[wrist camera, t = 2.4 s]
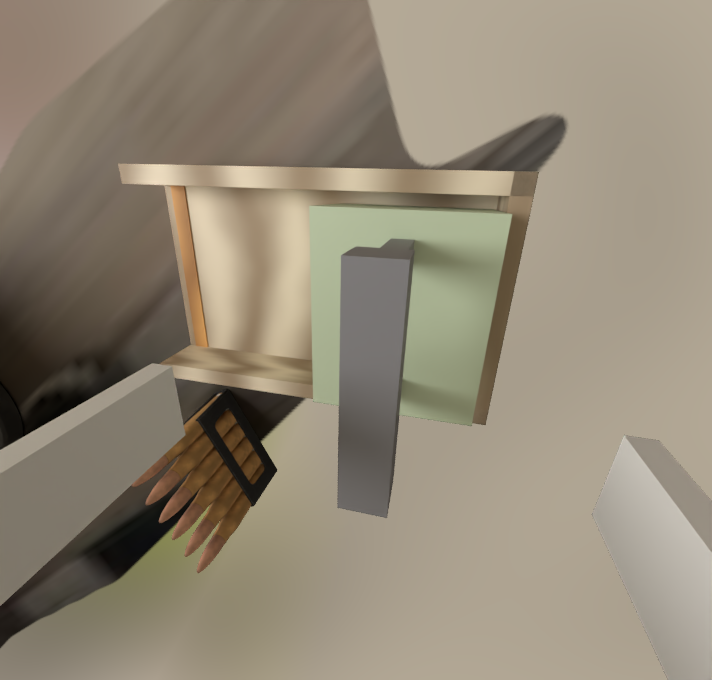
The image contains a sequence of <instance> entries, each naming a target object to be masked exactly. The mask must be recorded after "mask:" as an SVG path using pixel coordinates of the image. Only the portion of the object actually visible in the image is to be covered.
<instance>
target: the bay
mask: <svg viewBox="0 0 712 680" xmlns="http://www.w3.org/2000/svg"><path fill="white" fill-rule="evenodd" d="M118 166H119V170H120V175H121V180H122V184H145V185H165V191H166V197H167V203H168V209H169V215H170V221H171V227H172V233H173V239H174V245H175V251H176V257H177V263H178V269H179V275H180V281H181V287H182V293H183V299H184V305H185V311H186V317H187V323H188V329H189V335H190V341H191V345H190V346H188V347H186V348H185V349H183V350H181V351H180V352H178V353H176V354H175V355H173V356H171V357H170V358H168V359H166V360H165V361H163V362H161V363H160V365H166V366H172V369H173V374H174V378H179V379H186V380H192V381H199V382H205V383H212V384H218V385H225V386H232V387H238V388H245V389H251V390H258V391H265V392H271V393H278V394H284V395H291V396H297V397H304V398H311V399H313V373H312V323H311V274H310V224H309V206H314V205H327V204H341V203H347V204H373V205H398V206H424V207H449V208H475V209H494V210H498V211H502V212H506V213H510V214H512V218H511V224H510V229H509V234H508V239H507V244H506V250H505V255H504V260H503V265H502V270H501V276H500V281H499V286H498V291H497V296H496V301H495V307H494V312H493V317H492V322H491V327H490V333H489V338H488V343H487V348H486V353H485V359H484V364H483V369H482V374H481V379H480V384H479V390H478V395H477V400H476V405H475V410H474V416H473V421H472V423H476V424H482V425H486V420H487V415H488V410H489V406H490V401H491V396H492V391H493V387H494V382H495V377H496V373H497V368H498V363H499V358H500V354H501V348H502V344H503V339H504V334H505V330H506V325H507V320H508V315H509V311H510V306H511V301H512V297H513V292H514V286H515V283H516V278H517V273H518V268H519V264H520V259H521V254H522V249H523V244H524V240H525V235H526V230H527V225H528V221H529V216H530V211H531V207H532V202H533V197H534V193H535V188H536V183H537V178H538V174H539V172H519V171H467V170H415V169H363V168H310V167H258V166H206V165H154V164H118Z"/></svg>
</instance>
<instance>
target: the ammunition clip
mask: <svg viewBox="0 0 712 680" xmlns="http://www.w3.org/2000/svg"><path fill="white" fill-rule="evenodd" d="M183 425H184V430H185V436H184V437H183V438H182V439H181V440H180V441H178V442H177V443H176V444H175V445H174V446H173V447H172V448H171V449H170V450H169V451H168V452H167V453H165V454H164V455H163V456H162V457H161V458H160V459H159V460H158V461H157V462H156V463H155V464H154V465H152V466H151V467H150V468H149V469H148V470H147V471H146V472H145V473H144V474H143V475H142V476H141V477H139V478H138V479H137V480H136V481H135V482H134V483H133V484H132V487H136V486H138V485H140V484H142V483H144V482H146V481H147V480H149V479H150V478H152V477H153V476H155V475H156V474H157V473H158V472H159V471H161V470H162V469H163V468H164V467H165V466H166V465H167V464H169V463H170V462H171V461H172V460H173V459H174V458H176V457H177V456H179V455H180V454H181V455H180V456H179V457H178V459H177V460H176V462H175V463H174V465H173V466H172V467H171V468H170V469H169V470H168V471H167V473H166V474H165V475H164V476H163V477H162V478H161V479H160V480H159V482H158V483H157V484H156V485H155V487H154V488H153V490H152V491H151V493H150V495H149V496H148V498H147V501H146V505H150V504H152V503H154V502H156V501H157V500H159V499H160V498H162V497H163V496H164V495H165V494H167V493H168V492H169V491H170V490H171V489H172V488H173V487H174V486H175V485H176V484H177V483H178V482H179V481H180V480H181V479H182V478H183V477H184V476H185V475H186V474H188V473H189V472H190V474H189V475H188V477H187V478H186V480H185V482H184V483H183V484H182V485H181V486H180V488H179V489H178V491H177V492H176V493H175V494H174V495H173V496H172V498H171V499H170V501H169V502H168V503H167V505H166V507H165V508H164V510H163V512H162V514H161V516H160V519H159V523H162V522H164V521H166V520H168V519H169V518H170V517H172V516H173V515H174V514H176V513H177V512H178V511H179V510H180V509H181V508H182V507H183V506H184V505H185V504H186V503H187V501H188V500H189V499H190V498H191V497H192V496H193V495H194V494H195V493H196V492H197V491H198V490H199V489H200V488H201V489H200V490H199V492H198V494H197V496H196V498H195V499H194V500H193V502H192V503H191V504H190V506H189V507H188V509H187V510H186V511H185V513H184V514H183V516H182V517H181V519H180V520H179V522H178V524H177V526H176V528H175V530H174V532H173V535H172V540H175V539H176V538H178V537H180V536H181V535H182V534H184V533H185V532H186V531H187V530H188V529H189V528H190V527H191V526H192V525H193V524H194V523H195V522H196V520H197V519H198V518H199V517H200V515H201V514H202V513H203V512H204V511H205V510H206V508H207V507H208V506H209V505H210V504H211V503H212V504H211V505H210V507H209V509H208V511H207V514H206V515H205V516H204V518H203V519H202V521H201V523H200V524H199V526H198V527H197V528H196V530H195V532H194V533H193V535H192V537H191V539H190V541H189V543H188V545H187V548H186V551H185V557H187V556H189V555H190V554H192V553H193V552H194V551H195V550H196V549H197V548H198V547H199V546H200V545H201V544H202V543H203V542H204V541H205V539H206V538H207V537H208V536H209V534H210V533H211V532H212V530H213V529H214V528H215V527H216V525H217V524H218V523H219V521H220V520H221V521H220V523H219V525H218V528H217V530H216V531H215V533H214V535H213V536H212V538H211V540H210V542H209V543H208V545H207V546H206V548H205V550H204V552H203V554H202V556H201V558H200V561H199V564H198V568H197V572H198V573H200V572H201V571H203V570H204V569H205V568H206V567H207V566H208V565H209V564H210V563H211V562H212V561H213V559H214V558H215V557H216V555H217V554H218V553H219V551H220V550H221V548H222V547H223V545H224V544H225V543H226V541H227V540H228V539H229V537H230V536H231V535H232V533H233V532H234V531H235V530H236V529H237V527H238V526H239V524H240V523H241V521H242V519H243V518H244V516H245V515H246V513H247V511H248V510H249V508H250V506H254V505H255V504H256V502H257V500H258V499H259V498H260V496H261V494H262V493H263V491H264V490H265V488H266V487H267V485H268V484H269V482H270V481H271V479H272V477H273V476H274V475H275V473H276V472H277V468H276V467H275V465H274V463H273V462H272V460H271V459H270V457H269V455H268V453H267V452H266V450H265V448H264V447H263V445H262V443H261V442H260V440H259V439H258V437H257V435H256V434H255V432H254V430H253V429H252V427H251V425H250V424H249V422H248V420H247V419H246V417H245V415H244V414H243V412H242V410H241V409H240V407H239V405H238V404H237V402H236V400H235V399H234V397H233V395H232V394H231V392H230V390H228V389H226V390H223V391H220V392H217V393H214V394H213V395H212V396H211V397H210V398H209V399H208V400H207V401H206V402H205V403H204V404H203V405H202V406H201V407H200V408H199V409H198V410H197V411H196V412H195V413H194V414H193V415H192V416H191V417H190V418H189V419H188V420H187V421H186V422H185V423H184V424H183Z"/></svg>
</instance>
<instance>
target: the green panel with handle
mask: <svg viewBox="0 0 712 680" xmlns="http://www.w3.org/2000/svg"><path fill="white" fill-rule="evenodd" d="M511 218H512V214H510V213H506V212H502V211H498V210H494V209H475V208H449V207H424V206H398V205H373V204H347V203H341V204H327V205H314V206H309V224H310V274H311V323H312V373H313V402H318V403H324V404H331V405H337V406H339V437H338V441H339V442H338V508H342V509H347V510H352V511H356V512H361V513H366V514H371V515H375V516H380V517H385V518H387V514H388V508H389V502H390V496H391V490H392V483H393V476H394V466H395V454H396V444H397V434H398V423H399V415H403V416H409V417H415V418H422V419H428V420H435V421H441V422H449V423H455V424H461V425H468V426H472V421H473V416H474V410H475V405H476V400H477V395H478V390H479V384H480V379H481V374H482V369H483V364H484V359H485V353H486V348H487V343H488V338H489V333H490V327H491V322H492V317H493V312H494V307H495V301H496V296H497V291H498V286H499V281H500V276H501V270H502V265H503V260H504V255H505V250H506V244H507V239H508V234H509V229H510V224H511Z"/></svg>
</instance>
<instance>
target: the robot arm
mask: <svg viewBox="0 0 712 680" xmlns="http://www.w3.org/2000/svg"><path fill="white" fill-rule="evenodd" d="M184 436H185V430H184V425H183V420H182V414H181V409H180V404H179V399H178V394H177V389H176V384H175V379H174V374H173V369H172V366H166V365H160V364H153V363H152V364H150V365H148V366H147V367H145V368H143V369H141V370H140V371H138V372H136V373H134V374H133V375H131V376H129V377H127V378H126V379H124V380H122V381H120V382H119V383H117V384H115V385H113V386H112V387H110V388H108V389H106V390H105V391H103V392H101V393H99V394H98V395H96V396H94V397H92V398H91V399H89V400H87V401H85V402H84V403H82V404H80V405H78V406H77V407H75V408H73V409H71V410H70V411H68V412H66V413H64V414H63V415H61V416H59V417H57V418H56V419H54V420H52V421H50V422H49V423H47V424H45V425H43V426H42V427H40V428H38V429H36V430H35V431H33V432H31V433H29V434H28V435H26V436H24V437H23V425H22V421H21V417H20V415H19V412H18V410H17V408H16V406H15V404H14V402H13V400H12V399H11V397H10V396H9V394H8V393H7V392H6V390H5V389H4V388H3V387H2V385H1V384H0V606H1V605H2V604H3V603H4V602H5V601H6V600H7V599H8V598H9V597H10V596H11V595H12V594H14V593H15V592H16V591H17V590H18V589H19V588H20V587H21V586H22V585H23V584H24V583H25V582H27V581H28V580H29V579H30V578H31V577H32V576H33V575H34V574H35V573H36V572H37V571H39V570H40V569H41V568H42V567H43V566H44V565H45V564H46V563H47V562H48V561H49V560H50V559H52V558H53V557H54V556H55V555H56V554H57V553H58V552H59V551H60V550H61V549H62V548H63V547H65V546H66V545H67V544H68V543H69V542H70V541H71V540H72V539H73V538H74V537H75V536H76V535H78V534H79V533H80V532H81V531H82V530H83V529H84V528H85V527H86V526H87V525H88V524H90V523H91V522H92V521H93V520H94V519H95V518H96V517H97V516H98V515H99V514H100V513H101V512H103V511H104V510H105V509H106V508H107V507H108V506H109V505H110V504H111V503H112V502H113V501H114V500H116V499H117V498H118V497H119V496H120V495H121V494H122V493H123V492H124V491H125V490H126V489H127V488H129V487H130V486H131V485H132V484H133V483H134V482H135V481H136V480H137V479H138V478H139V477H141V476H142V475H143V474H144V473H145V472H146V471H147V470H148V469H149V468H150V467H151V466H152V465H154V464H155V463H156V462H157V461H158V460H159V459H160V458H161V457H162V456H163V455H164V454H165V453H167V452H168V451H169V450H170V449H171V448H172V447H173V446H174V445H175V444H176V443H177V442H178V441H180V440H181V439H182V438H183V437H184ZM592 516H593V518H594V520H595V523H596V525H597V527H598V529H599V531H600V533H601V536H602V538H603V540H604V542H605V544H606V546H607V549H608V551H609V553H610V555H611V557H612V560H613V562H614V564H615V566H616V568H617V570H618V573H619V575H620V577H621V579H622V581H623V583H624V586H625V588H626V590H627V592H628V594H629V597H630V599H631V601H632V603H633V605H634V607H635V609H636V612H637V613H638V616H639V618H640V620H641V623H642V625H643V627H644V629H645V631H646V633H647V636H648V638H649V640H650V642H651V644H652V646H653V649H654V651H655V653H656V655H657V657H658V660H659V662H660V664H661V666H662V668H663V670H664V673H665V675H666V677H667V679H668V680H712V501H711V500H710V498H709V497H708V496H707V495H706V494H705V493H704V492H703V490H702V489H701V488H700V487H699V486H698V485H697V484H696V482H695V481H694V480H693V479H692V478H691V477H690V475H689V474H688V473H687V472H686V471H685V470H684V469H683V468H682V467H681V465H680V464H679V463H678V462H677V461H676V460H675V458H674V457H673V456H672V455H671V454H670V453H669V451H668V450H667V449H666V448H665V447H664V446H663V445H662V444H661V442H660V441H659V440H652V439H646V438H639V437H632V436H626V435H624V437H623V439H622V441H621V444H620V446H619V449H618V451H617V454H616V456H615V459H614V461H613V464H612V466H611V469H610V471H609V473H608V476H607V478H606V481H605V483H604V486H603V488H602V491H601V494H600V496H599V498H598V501H597V503H596V506H595V508H594V511H593V513H592Z"/></svg>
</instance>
